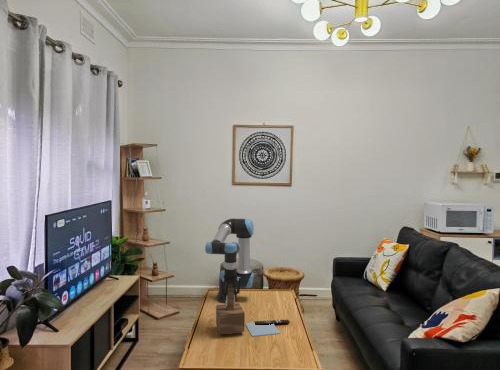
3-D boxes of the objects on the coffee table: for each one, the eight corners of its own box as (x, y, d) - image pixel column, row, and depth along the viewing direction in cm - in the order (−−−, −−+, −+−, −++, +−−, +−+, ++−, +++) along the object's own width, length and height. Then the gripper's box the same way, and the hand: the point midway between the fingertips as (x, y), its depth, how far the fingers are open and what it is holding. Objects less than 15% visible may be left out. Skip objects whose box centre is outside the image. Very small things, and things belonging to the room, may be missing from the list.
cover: (216, 323, 231) (216, 283, 229) (239, 321, 234) (239, 282, 233) (219, 334, 216) (220, 292, 214) (244, 331, 220) (244, 290, 218)
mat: (245, 324, 235) (245, 323, 235) (271, 321, 240) (271, 320, 240) (252, 336, 218) (252, 335, 218) (280, 333, 222) (280, 332, 222)
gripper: (217, 270, 217) (217, 308, 218) (245, 269, 221) (244, 306, 223) (215, 267, 224) (215, 303, 226) (242, 265, 229) (242, 301, 230)
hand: (230, 304), depth 224 cm, fingers closed on cover, 4 cm apart
